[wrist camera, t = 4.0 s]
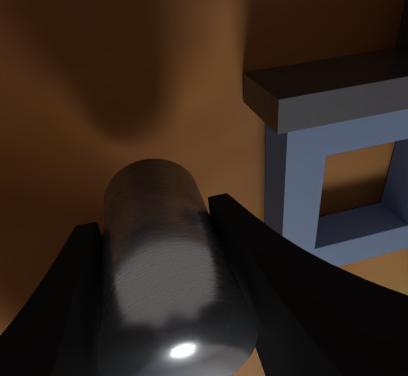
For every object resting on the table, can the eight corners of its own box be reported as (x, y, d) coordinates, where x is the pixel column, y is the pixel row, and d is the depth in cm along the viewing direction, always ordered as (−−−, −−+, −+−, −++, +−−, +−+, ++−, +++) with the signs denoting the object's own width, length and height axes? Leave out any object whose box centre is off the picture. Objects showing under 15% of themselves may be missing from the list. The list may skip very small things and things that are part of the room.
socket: (400, 219, 21) (428, 242, 19) (264, 252, 19) (280, 281, 18) (445, 72, 16) (489, 84, 14) (265, 104, 14) (288, 123, 13)
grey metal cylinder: (202, 226, 13) (258, 374, 8) (116, 246, 13) (120, 416, 8) (192, 149, 11) (256, 281, 6) (91, 169, 11) (75, 329, 6)
